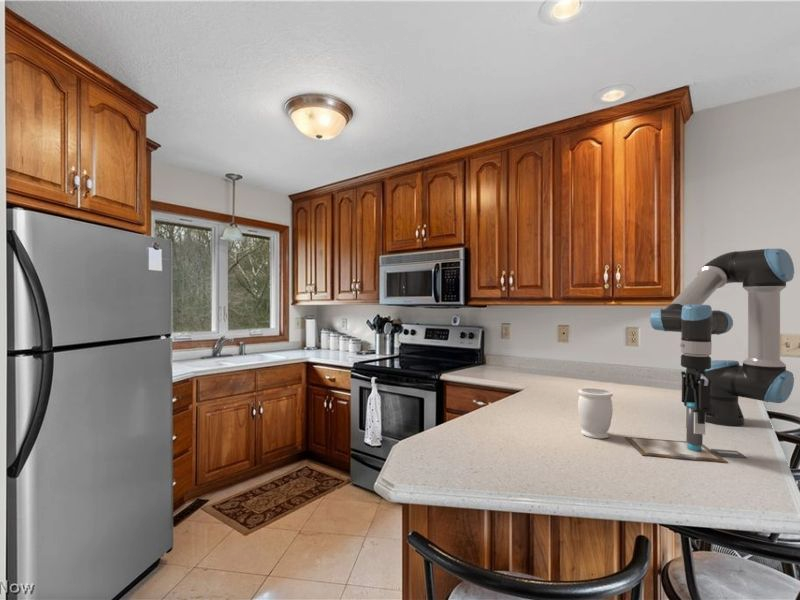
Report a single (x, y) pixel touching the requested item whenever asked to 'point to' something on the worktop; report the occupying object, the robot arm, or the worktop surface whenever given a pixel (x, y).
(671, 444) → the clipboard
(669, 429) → the worktop surface
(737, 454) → the grey slotted plate
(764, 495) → the worktop surface
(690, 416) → the grey and teal cylinder
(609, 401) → the jar
